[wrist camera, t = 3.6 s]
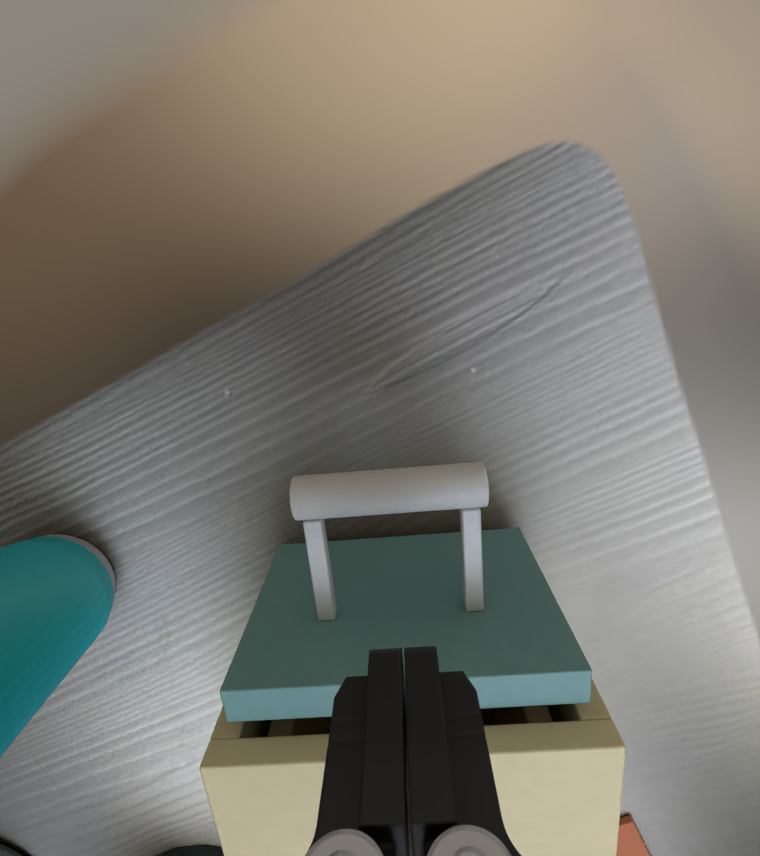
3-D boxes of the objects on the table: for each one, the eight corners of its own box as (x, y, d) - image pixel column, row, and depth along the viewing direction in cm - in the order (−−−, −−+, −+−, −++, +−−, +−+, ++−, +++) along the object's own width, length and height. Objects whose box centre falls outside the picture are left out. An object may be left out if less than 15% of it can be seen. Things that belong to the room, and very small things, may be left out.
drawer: (259, 433, 20) (179, 532, 12) (519, 412, 19) (602, 501, 12) (314, 739, 25) (280, 942, 17) (520, 729, 24) (578, 932, 17)
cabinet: (276, 565, 23) (197, 768, 13) (527, 548, 22) (627, 746, 13) (312, 763, 27) (271, 1027, 17) (526, 753, 26) (603, 1019, 17)
